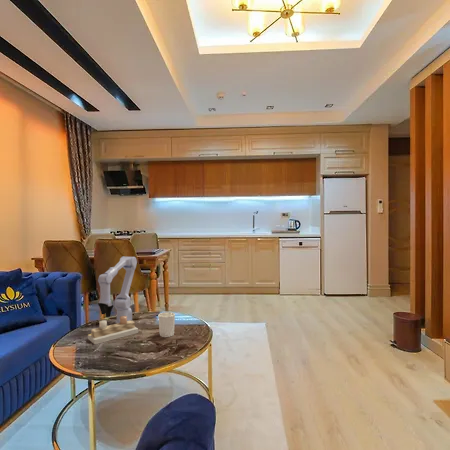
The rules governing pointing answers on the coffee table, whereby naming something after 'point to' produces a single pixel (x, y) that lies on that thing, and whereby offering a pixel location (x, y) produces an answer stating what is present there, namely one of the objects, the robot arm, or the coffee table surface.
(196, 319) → the coffee table surface
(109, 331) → the beige long bar
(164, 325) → the candle holder
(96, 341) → the dock
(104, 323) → the taupe tapered cylinder
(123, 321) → the cylinder
